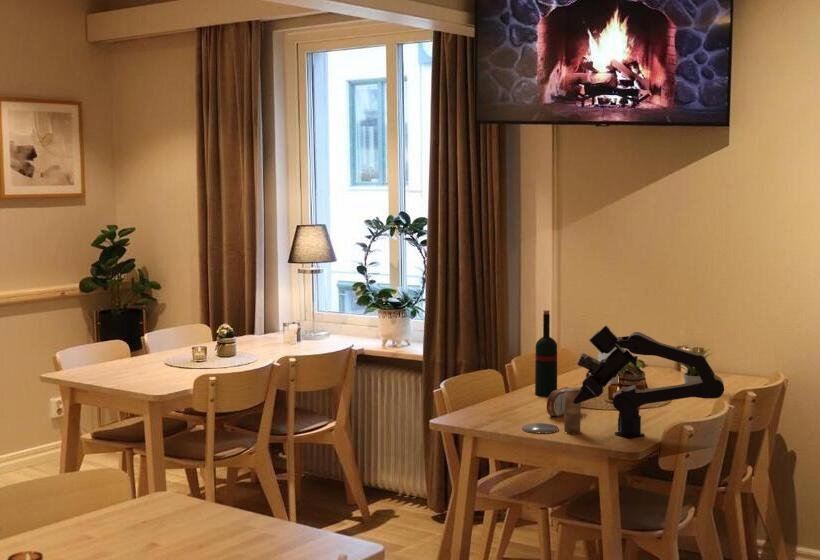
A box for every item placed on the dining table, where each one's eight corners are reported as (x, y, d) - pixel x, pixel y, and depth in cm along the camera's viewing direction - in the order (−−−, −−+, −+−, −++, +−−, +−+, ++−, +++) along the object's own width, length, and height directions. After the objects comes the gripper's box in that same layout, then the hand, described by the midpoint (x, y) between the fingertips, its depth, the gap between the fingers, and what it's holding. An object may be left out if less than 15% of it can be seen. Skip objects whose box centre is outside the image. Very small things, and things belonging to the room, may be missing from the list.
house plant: (721, 389, 371) (722, 344, 369) (713, 397, 359) (714, 351, 357) (681, 386, 377) (682, 342, 376) (672, 393, 365) (673, 348, 363)
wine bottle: (562, 392, 369) (563, 309, 366) (552, 397, 360) (552, 312, 357) (542, 390, 373) (542, 307, 370) (531, 395, 364) (531, 311, 361)
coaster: (565, 430, 315) (565, 428, 315) (536, 435, 309) (536, 433, 309) (543, 423, 324) (543, 421, 324) (515, 427, 319) (515, 426, 319)
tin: (569, 409, 343) (569, 384, 342) (577, 410, 341) (578, 385, 340) (545, 418, 331) (545, 392, 330) (553, 419, 329) (554, 393, 328)
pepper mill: (583, 432, 312) (583, 390, 311) (571, 434, 310) (571, 392, 308) (573, 429, 316) (573, 387, 315) (561, 431, 314) (561, 389, 312)
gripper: (596, 340, 317) (560, 374, 321) (591, 350, 299) (553, 386, 303) (622, 366, 316) (585, 400, 320) (618, 378, 298) (579, 414, 302)
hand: (575, 399), depth 312 cm, fingers open, 9 cm apart
